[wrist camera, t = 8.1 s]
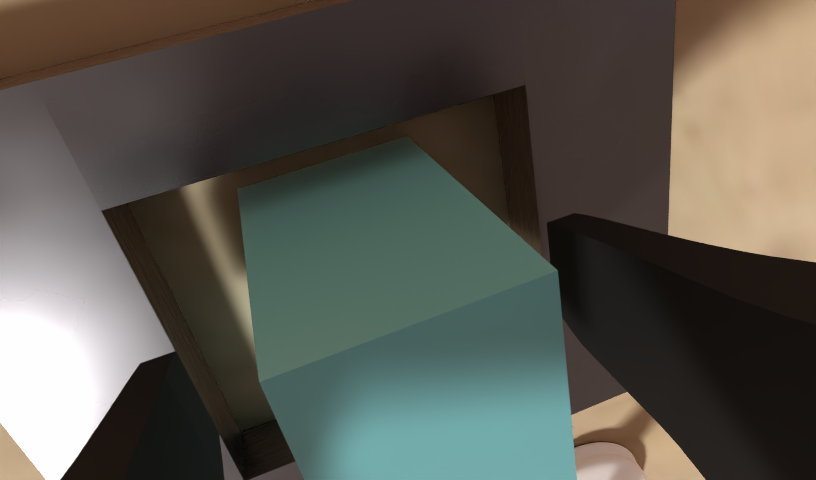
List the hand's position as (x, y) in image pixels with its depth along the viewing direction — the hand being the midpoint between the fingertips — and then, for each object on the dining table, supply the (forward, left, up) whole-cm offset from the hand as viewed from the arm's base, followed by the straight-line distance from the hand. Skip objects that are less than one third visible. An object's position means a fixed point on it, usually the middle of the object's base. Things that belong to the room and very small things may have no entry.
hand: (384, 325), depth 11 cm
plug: (0, 0, -2) cm, 3 cm away
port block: (0, 0, -2) cm, 2 cm away
